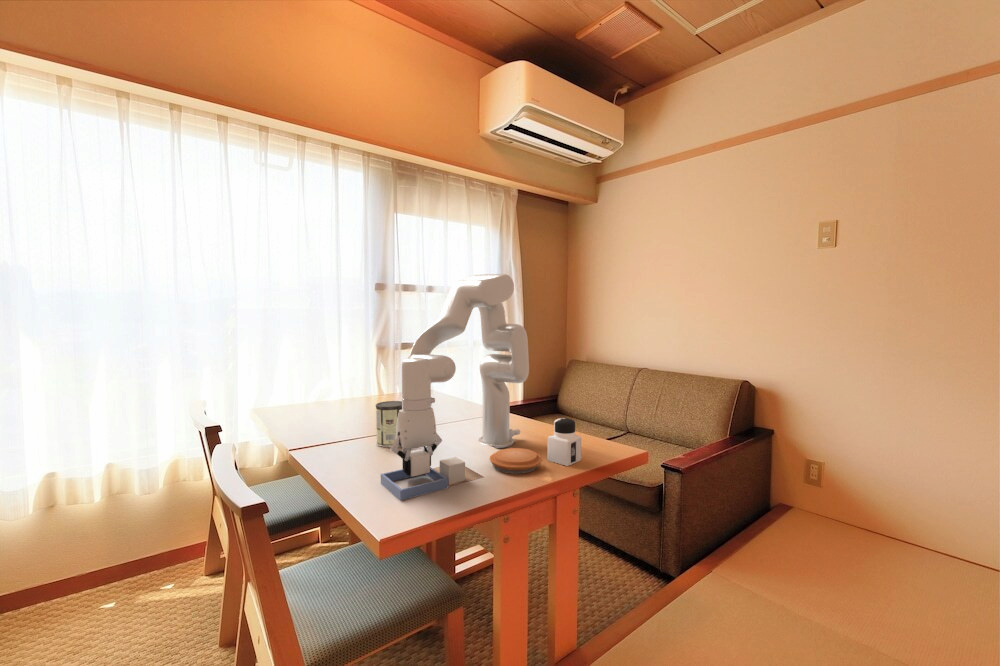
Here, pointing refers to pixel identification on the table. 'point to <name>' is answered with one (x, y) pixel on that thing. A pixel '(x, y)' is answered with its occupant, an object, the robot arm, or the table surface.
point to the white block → (419, 462)
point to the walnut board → (469, 475)
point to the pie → (515, 460)
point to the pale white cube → (453, 469)
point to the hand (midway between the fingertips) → (417, 470)
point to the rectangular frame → (413, 491)
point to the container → (564, 443)
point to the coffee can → (387, 422)
